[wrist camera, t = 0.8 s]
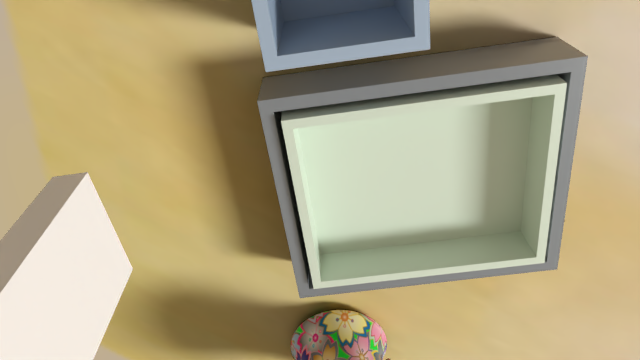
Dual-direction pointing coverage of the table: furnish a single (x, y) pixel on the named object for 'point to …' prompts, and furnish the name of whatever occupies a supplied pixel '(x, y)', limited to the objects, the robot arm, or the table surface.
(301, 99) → the bottom crate
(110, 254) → the robot arm
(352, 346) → the mug
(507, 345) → the table surface
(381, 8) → the small crate
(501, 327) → the table surface
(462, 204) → the top crate
